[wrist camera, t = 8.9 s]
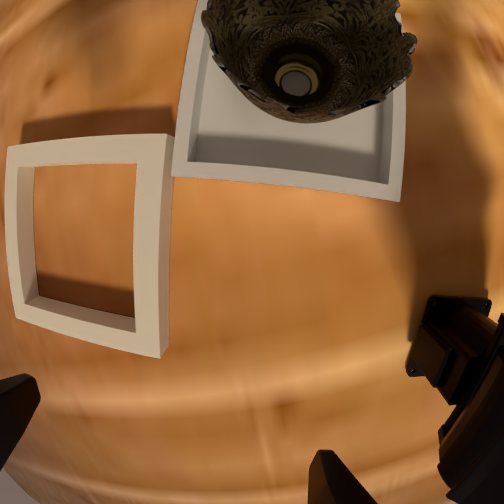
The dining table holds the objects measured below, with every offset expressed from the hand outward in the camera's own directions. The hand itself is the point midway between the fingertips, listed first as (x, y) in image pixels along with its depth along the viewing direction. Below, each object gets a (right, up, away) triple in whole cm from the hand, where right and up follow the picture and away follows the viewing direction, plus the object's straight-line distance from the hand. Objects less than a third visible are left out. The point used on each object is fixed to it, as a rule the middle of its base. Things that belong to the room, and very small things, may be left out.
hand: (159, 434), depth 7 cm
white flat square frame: (-9, +6, +12) cm, 16 cm away
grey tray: (+5, +15, +9) cm, 18 cm away
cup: (+5, +15, +8) cm, 18 cm away
